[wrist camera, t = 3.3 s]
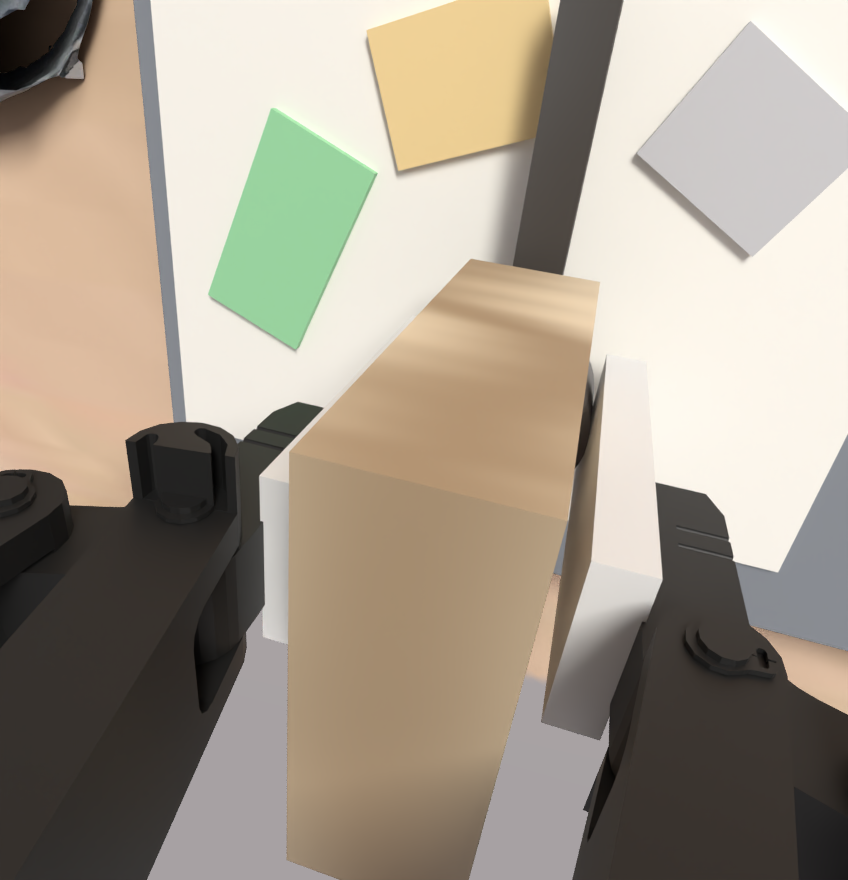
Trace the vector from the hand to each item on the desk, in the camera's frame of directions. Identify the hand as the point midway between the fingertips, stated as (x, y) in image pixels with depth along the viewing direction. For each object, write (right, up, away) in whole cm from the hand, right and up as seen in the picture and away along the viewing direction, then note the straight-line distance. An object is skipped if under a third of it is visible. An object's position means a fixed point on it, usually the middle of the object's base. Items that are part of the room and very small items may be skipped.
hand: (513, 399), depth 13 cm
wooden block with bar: (0, +2, 0) cm, 2 cm away
